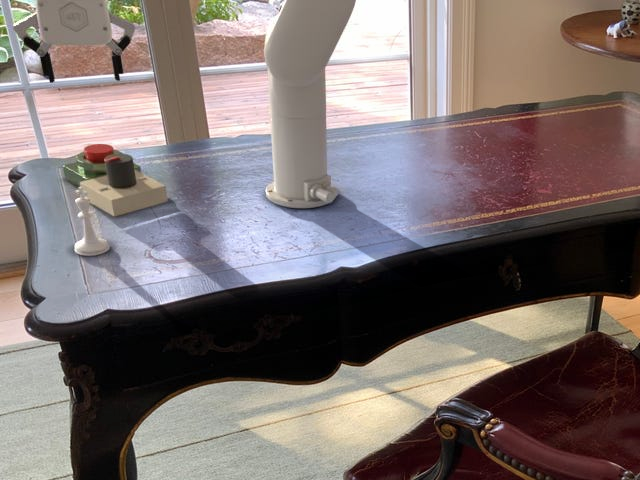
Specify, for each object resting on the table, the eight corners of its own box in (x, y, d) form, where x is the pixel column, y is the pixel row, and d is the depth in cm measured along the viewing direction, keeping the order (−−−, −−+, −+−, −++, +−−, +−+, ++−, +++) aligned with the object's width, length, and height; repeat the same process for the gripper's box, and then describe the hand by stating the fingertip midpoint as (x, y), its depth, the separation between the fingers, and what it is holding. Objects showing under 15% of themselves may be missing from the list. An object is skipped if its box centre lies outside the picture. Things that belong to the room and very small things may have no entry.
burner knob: (124, 176, 142) (119, 150, 140) (142, 183, 141) (138, 156, 138) (103, 184, 139) (98, 156, 136) (121, 190, 137) (116, 163, 135)
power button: (105, 151, 148) (104, 141, 147) (120, 158, 146) (118, 149, 145) (80, 157, 145) (78, 147, 144) (94, 164, 143) (92, 155, 142)
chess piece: (97, 258, 123) (85, 196, 118) (67, 252, 124) (54, 190, 118) (116, 244, 127) (105, 184, 122) (87, 239, 128) (75, 179, 123)
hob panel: (167, 201, 142) (165, 184, 141) (114, 217, 136) (111, 199, 134) (135, 184, 147) (133, 167, 145) (82, 198, 140) (79, 181, 139)
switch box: (117, 167, 153) (113, 143, 151) (142, 180, 149) (139, 156, 147) (65, 179, 147) (60, 155, 144) (90, 193, 142) (85, 169, 140)
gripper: (-3, -34, 116) (24, 87, 126) (128, -31, 123) (144, 84, 132) (-1, -43, 122) (25, 74, 131) (124, -40, 128) (140, 71, 138)
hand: (85, 79), depth 132 cm, fingers open, 9 cm apart
